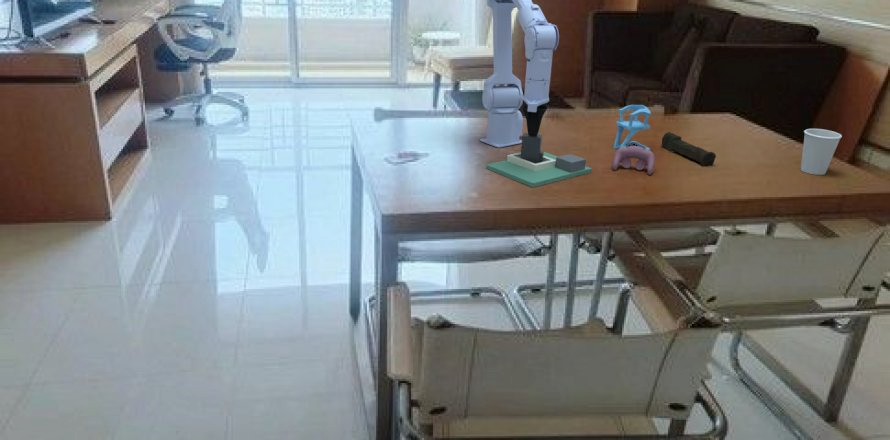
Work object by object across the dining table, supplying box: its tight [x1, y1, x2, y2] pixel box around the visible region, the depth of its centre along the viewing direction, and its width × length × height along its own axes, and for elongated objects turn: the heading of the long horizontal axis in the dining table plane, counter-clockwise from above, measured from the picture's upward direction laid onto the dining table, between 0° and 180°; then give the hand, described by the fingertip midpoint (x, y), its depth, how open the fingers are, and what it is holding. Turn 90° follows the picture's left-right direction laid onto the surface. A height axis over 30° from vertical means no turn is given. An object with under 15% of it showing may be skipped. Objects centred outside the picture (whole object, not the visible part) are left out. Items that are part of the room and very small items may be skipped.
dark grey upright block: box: [519, 132, 545, 164], centre depth 162 cm, size 3×6×7 cm, turn 76°
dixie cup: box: [800, 128, 843, 176], centre depth 167 cm, size 8×8×10 cm
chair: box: [613, 104, 652, 151], centre depth 180 cm, size 8×8×12 cm
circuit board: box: [485, 151, 593, 188], centre depth 161 cm, size 20×16×4 cm
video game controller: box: [612, 145, 656, 176], centre depth 164 cm, size 10×5×7 cm, turn 72°
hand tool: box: [661, 131, 717, 167], centre depth 177 cm, size 19×4×5 cm, turn 18°
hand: (532, 135), depth 161 cm, fingers closed
